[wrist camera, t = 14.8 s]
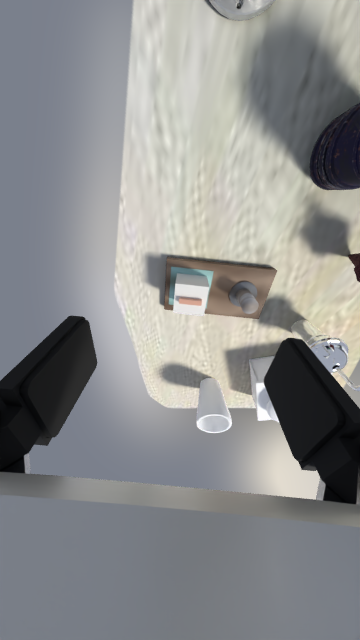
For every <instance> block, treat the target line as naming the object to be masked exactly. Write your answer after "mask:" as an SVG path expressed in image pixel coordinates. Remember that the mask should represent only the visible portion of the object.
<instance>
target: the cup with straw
mask: <svg viewBox="0 0 360 640" xmlns="http://www.w3.org/2000/svg"><path fill="white" fill-rule="evenodd" d="M291 331H292V333H293V335H294V337H295V338H296V339H302V340H303V341H304V342H305V343H306V344H307V345H308V347H309V348H310V349H311V350H312V351H313V353H314V354H315V355H316V356H317V358H318V359H319V360H320V361H321V362H322V364H323V365H324V366H325V367H326V368H327V370H328V371H329V372H330V373H333V372H338V373H339V374H340V375H341V377H342V378H343V379H344V380H345V381H346V382H347V383H348V385H350V387H351V388H352V389H354V390H356V391H360V385H359V386H355V385H354V384H353V383H352V381H351V380H350V379H349V378H348V377H347V376H346V375H345V374H344V373H343V372H342V370H341V369H343V368H344V367H345V366H346V364H347V362H348V346H347V345H346V343H345V342H344V341H343V340H341V339H339V338H332V337H330V336H329V335H326V334H325V333H324V332H322V331H321V330H320V329H318V328H317V327H316V326H314V325H313V324H312V323H310V322H309V321H307V320H299V321H297V322H295V323H294V324H293V325H292V327H291Z"/></svg>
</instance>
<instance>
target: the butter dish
mask: <svg viewBox="0 0 360 640" xmlns="http://www.w3.org/2000/svg"><path fill="white" fill-rule="evenodd" d="M274 357H275V356H268V357H261V358H254V359H249V364H250V377H251V390H252V397H253V400H254V404H255V407H256V410H257V419H258V421H261V420H272V419H273V420H275V421H277V422H279V420H278V417H277V415H276V413H275V410H274V408H273V405H272V403H271V400H270V398H269V395H268V393H267V390H266V388H265V385H264V377H265V375H266V373H267V371H268V369H269V367H270V365H271V363H272V361H273V359H274ZM331 375H332V373H331ZM279 423H280V422H279Z"/></svg>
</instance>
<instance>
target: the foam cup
mask: <svg viewBox="0 0 360 640" xmlns="http://www.w3.org/2000/svg"><path fill="white" fill-rule="evenodd" d="M196 417H197V426H198V428H199V429H200V430H202V431H205V432H208V433H219V432H223V431H226V430H228V429H229V428H230V427H231V425H232V421H231V415H230V412H229V411H228V407H227V404H226V401H225V398H224V395H223V392H222V389H221V386H220V383H219V381H218V380H217V379H215V378H205V379H203V380H202V381H201V383H200V390H199V400H198V410H197V415H196Z"/></svg>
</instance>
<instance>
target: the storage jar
mask: <svg viewBox="0 0 360 640" xmlns="http://www.w3.org/2000/svg"><path fill="white" fill-rule="evenodd" d="M310 173H311V177H312V180H313V181H314V183H315V184H316V185H317V186H318V187H320V188H322V189H325V190H346V189H347V190H350V189H357V188H360V103H359V104H357V105H355V106H354V107H352V108H351V109H349V110H348V111H347V112H345V113H343V114H342V115H340V116H339V117H337V118H336V119H335V120H333V121H332V122H331V123H330V124H329V125H328V126H327V127H326V128H325V130H324V131H323V132H322V134H321V135H320V137H319V138H318V140H317V142H316V144H315V146H314V149H313V151H312V155H311V159H310Z"/></svg>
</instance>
